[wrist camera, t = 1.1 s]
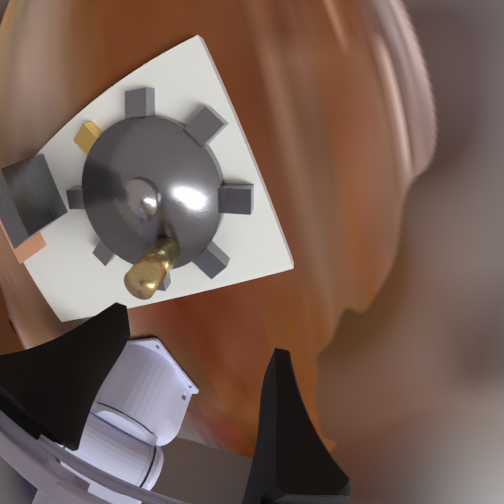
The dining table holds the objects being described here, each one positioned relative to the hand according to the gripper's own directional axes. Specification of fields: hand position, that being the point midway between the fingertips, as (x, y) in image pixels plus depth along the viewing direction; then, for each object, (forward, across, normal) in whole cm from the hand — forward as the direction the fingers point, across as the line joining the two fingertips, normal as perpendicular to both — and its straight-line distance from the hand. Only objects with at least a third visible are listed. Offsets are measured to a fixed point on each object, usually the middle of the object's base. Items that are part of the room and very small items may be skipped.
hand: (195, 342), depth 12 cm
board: (+9, +12, +1) cm, 16 cm away
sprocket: (+8, +6, -3) cm, 11 cm away
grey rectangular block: (+8, +18, -2) cm, 20 cm away
